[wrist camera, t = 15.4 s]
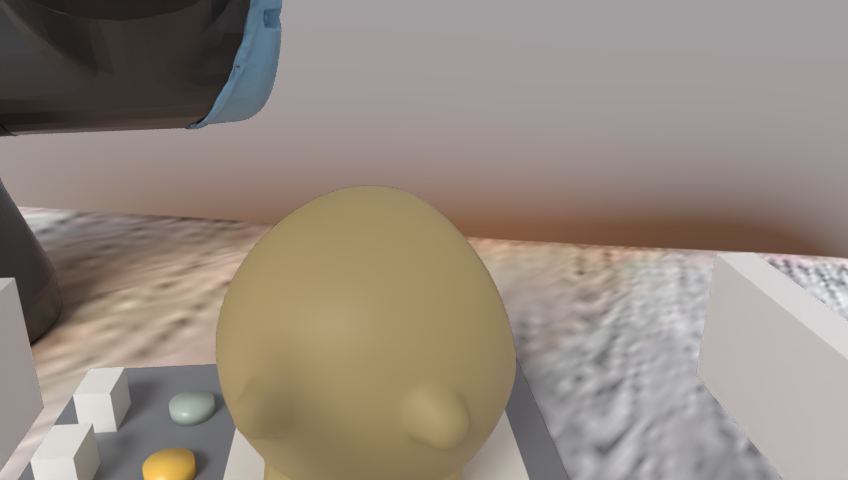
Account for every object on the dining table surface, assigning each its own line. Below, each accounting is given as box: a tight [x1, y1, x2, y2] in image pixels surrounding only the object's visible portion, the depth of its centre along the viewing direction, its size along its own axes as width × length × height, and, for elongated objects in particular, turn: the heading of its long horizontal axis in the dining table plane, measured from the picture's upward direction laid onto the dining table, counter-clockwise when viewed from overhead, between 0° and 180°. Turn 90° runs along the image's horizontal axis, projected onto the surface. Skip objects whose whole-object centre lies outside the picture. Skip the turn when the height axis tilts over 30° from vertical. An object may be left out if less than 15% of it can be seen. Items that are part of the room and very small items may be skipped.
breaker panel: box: [18, 358, 569, 480], centre depth 26 cm, size 16×20×3 cm
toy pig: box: [216, 186, 516, 480], centre depth 25 cm, size 10×12×11 cm
